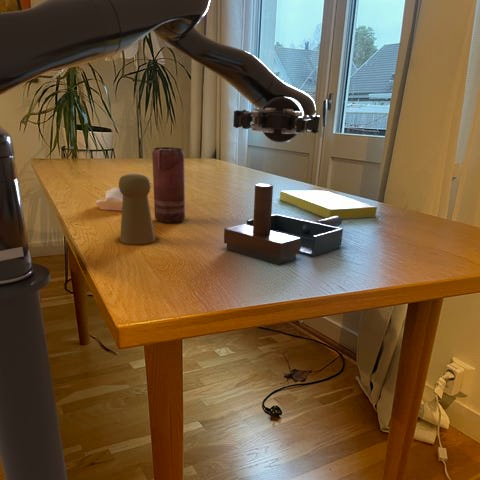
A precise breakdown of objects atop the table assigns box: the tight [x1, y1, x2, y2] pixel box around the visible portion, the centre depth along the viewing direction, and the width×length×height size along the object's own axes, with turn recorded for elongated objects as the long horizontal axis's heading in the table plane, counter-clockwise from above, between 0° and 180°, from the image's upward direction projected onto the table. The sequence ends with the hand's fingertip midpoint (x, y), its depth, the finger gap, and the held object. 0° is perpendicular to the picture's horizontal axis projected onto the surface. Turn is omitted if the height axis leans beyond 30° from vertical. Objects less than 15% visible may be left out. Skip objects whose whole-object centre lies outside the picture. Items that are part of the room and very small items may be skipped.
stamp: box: [223, 183, 301, 265], centre depth 75 cm, size 5×12×11 cm, turn 47°
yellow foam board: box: [279, 190, 378, 220], centre depth 115 cm, size 12×2×24 cm
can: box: [151, 146, 186, 224], centre depth 94 cm, size 6×6×14 cm
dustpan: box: [246, 213, 344, 257], centre depth 88 cm, size 19×15×3 cm
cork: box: [118, 173, 156, 246], centre depth 81 cm, size 6×6×11 cm
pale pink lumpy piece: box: [95, 186, 123, 212], centre depth 106 cm, size 10×4×10 cm
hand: (271, 123), depth 74 cm, fingers open, 8 cm apart
